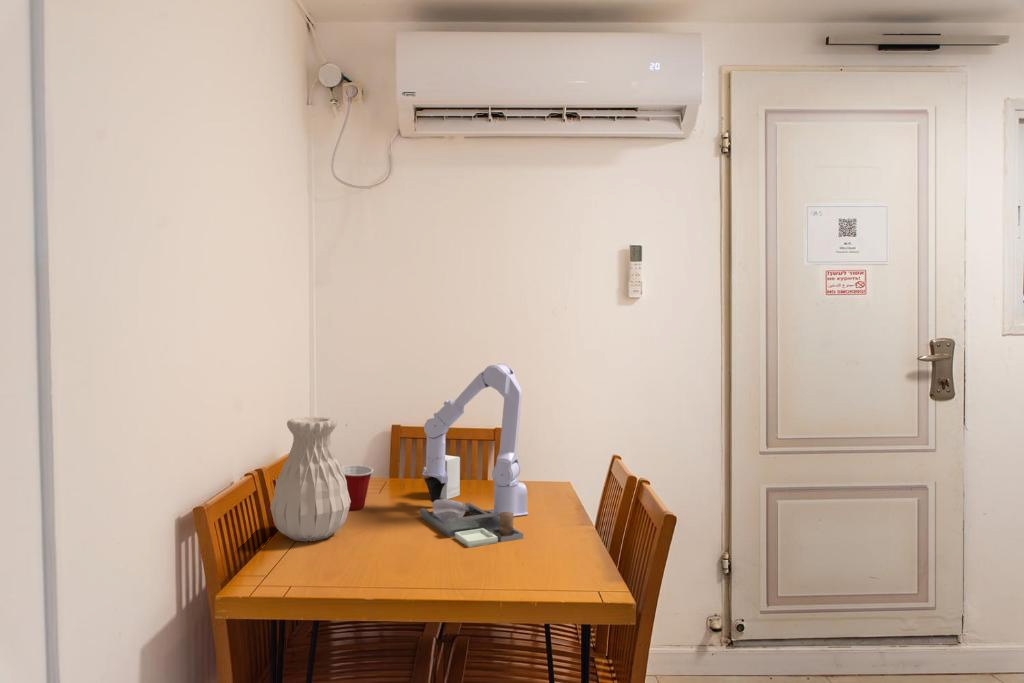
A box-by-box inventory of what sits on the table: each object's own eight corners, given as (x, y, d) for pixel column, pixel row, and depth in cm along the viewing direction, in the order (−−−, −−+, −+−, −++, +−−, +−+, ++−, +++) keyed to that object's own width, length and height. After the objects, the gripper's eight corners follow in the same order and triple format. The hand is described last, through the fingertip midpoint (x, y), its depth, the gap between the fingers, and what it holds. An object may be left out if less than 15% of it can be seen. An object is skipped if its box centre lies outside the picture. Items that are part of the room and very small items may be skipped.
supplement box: (460, 495, 214) (461, 456, 214) (446, 500, 208) (446, 460, 208) (442, 492, 218) (443, 454, 218) (428, 496, 212) (428, 457, 212)
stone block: (463, 517, 196) (430, 511, 195) (466, 501, 196) (433, 495, 195) (464, 530, 184) (429, 524, 183) (468, 514, 184) (433, 507, 183)
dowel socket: (511, 531, 177) (511, 526, 177) (523, 538, 171) (523, 533, 171) (489, 534, 173) (489, 530, 173) (500, 541, 168) (501, 537, 168)
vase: (365, 535, 171) (367, 420, 170) (293, 553, 157) (294, 427, 156) (326, 519, 185) (327, 412, 184) (256, 534, 171) (257, 418, 170)
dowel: (508, 533, 175) (509, 511, 175) (515, 537, 171) (515, 514, 171) (496, 535, 173) (497, 512, 173) (503, 539, 170) (503, 516, 170)
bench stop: (468, 510, 196) (468, 497, 196) (501, 529, 178) (502, 515, 178) (420, 516, 189) (420, 503, 189) (449, 537, 170) (449, 522, 170)
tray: (483, 533, 174) (483, 528, 174) (497, 542, 167) (497, 536, 167) (454, 538, 170) (455, 532, 170) (468, 547, 163) (468, 541, 163)
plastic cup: (351, 515, 189) (352, 474, 189) (328, 508, 196) (328, 468, 195) (380, 507, 198) (381, 468, 197) (357, 501, 204) (357, 463, 204)
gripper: (414, 453, 203) (413, 497, 203) (432, 462, 190) (431, 509, 191) (435, 452, 207) (435, 495, 207) (454, 460, 194) (453, 506, 194)
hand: (434, 501), depth 199 cm, fingers closed
